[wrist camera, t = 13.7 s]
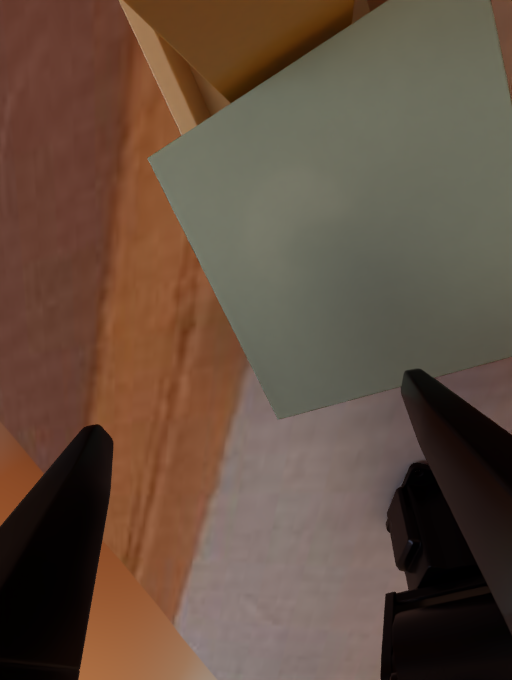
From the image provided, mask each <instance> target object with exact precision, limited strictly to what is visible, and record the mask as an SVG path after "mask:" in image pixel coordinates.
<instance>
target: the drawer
mask: <svg viewBox="0 0 512 680" xmlns="http://www.w3.org/2000/svg"><path fill="white" fill-rule="evenodd" d="M386 1H387V0H354V9H353V19H352V23H354V22H355V21H357V20H359V19H360V18H362V17H363V16H365V15H366V14H368V13H369V12H371V11H372V10H374V9H375V8H377V7H378V6H380V5H381V4H383V3H384V2H386ZM119 2H120V4H121V6H122V8H123V11H124V13H125V15H126V17H127V19H128V21H129V23H130V26H131V28H132V30H133V32H134V34H135V36H136V38H137V41H138V43H139V45H140V47H141V49H142V51H143V54H144V56H145V58H146V60H147V62H148V64H149V66H150V69H151V71H152V73H153V75H154V77H155V79H156V82H157V84H158V86H159V88H160V90H161V92H162V94H163V97H164V99H165V101H166V103H167V105H168V107H169V109H170V112H171V114H172V116H173V118H174V120H175V122H176V125H177V127H178V129H179V131H180V133H181V135H183V134H185V133H187V132H188V131H190V130H191V129H193V128H194V127H196V126H197V125H199V124H200V123H202V122H203V121H205V120H206V119H208V118H209V117H211V116H212V115H214V114H215V113H217V112H219V111H220V110H222V109H223V108H225V107H226V106H228V105H229V104H231V103H230V102H229V101H228V100H227V99H226V98H224V97H223V96H222V95H221V94H220V93H219V92H218V91H217V90H216V89H215V88H214V87H213V86H212V85H211V84H210V83H209V82H208V81H207V80H206V79H205V78H204V77H203V76H201V75H200V74H199V73H198V72H197V71H196V70H195V69H194V68H193V67H192V66H191V65H190V64H189V63H188V62H187V61H186V60H185V59H184V58H183V57H182V56H181V55H180V54H179V53H177V52H176V51H175V50H174V49H173V48H172V47H171V46H170V45H169V44H168V43H167V42H166V41H165V40H164V39H163V38H162V37H161V36H160V35H159V34H158V33H157V32H156V31H154V30H153V29H152V28H151V27H150V26H149V25H148V24H147V23H146V22H145V21H144V20H143V19H142V18H141V17H140V16H139V15H138V14H137V13H136V12H135V11H134V10H133V9H132V8H130V7H129V6H128V5H127V4H126V3H125V2H124V1H123V0H119Z"/></svg>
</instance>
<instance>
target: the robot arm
mask: <svg viewBox="0 0 512 680" xmlns="http://www.w3.org/2000/svg"><path fill="white" fill-rule="evenodd" d="M401 394H402V397H403V400H404V403H405V406H406V409H407V412H408V414H409V417H410V420H411V423H412V426H413V429H414V431H415V434H416V437H417V440H418V442H419V445H420V447H421V450H422V452H423V454H424V456H425V458H426V460H427V462H428V464H429V465H426V464H422V463H413V464H412V465H411V466H410V467H409V469H408V472H407V474H406V476H405V479H404V481H403V484H402V486H401V487H399V488H398V489H397V490H396V492H395V495H394V497H393V499H392V502H391V504H390V507H389V509H388V512H387V517H388V519H387V522H386V528H387V531H388V532H389V533H390V534H391V540H392V546H393V551H394V557H395V563H396V566H397V567H398V569H399V570H401V571H404V572H405V575H406V580H407V585H408V591H404V592H400V593H396V592H391V593H387V594H386V596H385V610H384V625H383V640H382V654H381V680H512V435H511V434H510V433H508V432H507V431H506V430H504V429H503V428H502V427H500V426H499V425H497V424H496V423H495V422H493V421H492V420H491V419H489V418H488V417H487V416H485V415H484V414H482V413H481V412H480V411H478V410H477V409H476V408H474V407H473V406H471V405H470V404H469V403H467V402H466V401H465V400H463V399H462V398H461V397H459V396H458V395H456V394H455V393H454V392H452V391H451V390H450V389H448V388H447V387H445V386H444V385H443V384H441V383H440V382H439V381H437V380H436V379H434V378H433V377H432V376H430V375H429V374H428V373H426V372H425V371H424V370H422V369H419V368H416V369H410V370H406V371H405V372H404V374H403V380H402V385H401ZM112 460H113V440H112V438H111V437H110V435H109V434H108V433H107V432H106V431H105V430H104V429H103V428H102V427H101V426H100V425H98V424H96V425H90V426H86V427H84V428H83V429H82V430H81V431H80V432H79V433H78V434H77V436H76V437H75V438H74V439H73V440H72V442H71V443H70V444H69V445H68V446H67V448H66V449H65V450H64V451H63V452H62V454H61V455H60V456H59V457H58V458H57V459H56V461H55V462H54V463H53V464H52V465H51V467H50V468H49V469H48V470H47V471H46V473H45V474H44V475H43V476H42V477H41V479H40V480H39V481H38V482H37V483H36V484H35V486H34V487H33V488H32V489H31V490H30V492H29V493H28V494H27V495H26V497H25V498H24V499H23V500H22V501H21V502H20V503H19V505H18V506H17V507H16V508H15V509H14V511H13V512H12V513H11V514H10V515H9V517H8V518H7V519H6V520H5V521H4V523H3V524H2V525H1V526H0V680H78V678H79V672H80V671H79V669H80V665H81V660H82V654H83V648H84V642H85V636H86V630H87V625H88V619H89V613H90V608H91V602H92V596H93V590H94V584H95V579H96V573H97V567H98V562H99V556H100V550H101V544H102V539H103V533H104V527H105V521H106V516H107V510H108V504H109V498H110V489H111V475H112ZM416 470H420V471H419V472H416Z"/></svg>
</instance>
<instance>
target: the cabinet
mask: <svg viewBox="0 0 512 680" xmlns="http://www.w3.org/2000/svg"><path fill="white" fill-rule="evenodd" d="M148 160H149V162H150V164H151V166H152V168H153V170H154V172H155V174H156V176H157V178H158V180H159V182H160V184H161V186H162V188H163V190H164V192H165V194H166V196H167V198H168V200H169V202H170V204H171V206H172V208H173V210H174V212H175V214H176V216H177V218H178V220H179V222H180V224H181V226H182V228H183V230H184V232H185V234H186V236H187V238H188V240H189V242H190V244H191V246H192V248H193V250H194V252H195V254H196V256H197V258H198V260H199V262H200V264H201V266H202V268H203V270H204V272H205V274H206V276H207V278H208V280H209V282H210V284H211V286H212V288H213V290H214V292H215V294H216V296H217V298H218V300H219V302H220V304H221V306H222V308H223V310H224V312H225V314H226V316H227V318H228V320H229V322H230V324H231V326H232V328H233V330H234V332H235V334H236V336H237V338H238V340H239V342H240V344H241V346H242V348H243V350H244V352H245V354H246V356H247V358H248V360H249V362H250V364H251V366H252V368H253V370H254V372H255V374H256V376H257V378H258V380H259V382H260V384H261V386H262V388H263V391H264V393H265V395H266V397H267V399H268V401H269V403H270V405H271V407H272V409H273V411H274V413H275V415H276V417H277V419H283V418H286V417H290V416H294V415H297V414H301V413H305V412H309V411H312V410H316V409H320V408H323V407H327V406H331V405H335V404H338V403H342V402H346V401H349V400H353V399H357V398H360V397H364V396H368V395H372V394H375V393H379V392H383V391H386V390H390V389H394V388H398V387H401V385H402V380H403V374H404V372H405V371H406V370H410V369H416V368H419V369H422V370H424V371H425V372H426V373H428V374H429V375H430V376H432V377H433V378H435V377H438V376H442V375H446V374H450V373H453V372H457V371H461V370H464V369H468V368H472V367H475V366H479V365H483V364H487V363H490V362H494V361H498V360H501V359H505V358H509V357H512V101H511V96H510V91H509V86H508V81H507V76H506V72H505V67H504V62H503V57H502V52H501V47H500V43H499V38H498V33H497V28H496V23H495V18H494V14H493V9H492V4H491V0H387V1H386V2H384V3H383V4H381V5H380V6H378V7H377V8H375V9H374V10H372V11H371V12H369V13H368V14H366V15H365V16H363V17H362V18H360V19H359V20H357V21H355V22H354V23H352V24H351V25H349V26H348V27H346V28H345V29H343V30H342V31H340V32H339V33H337V34H336V35H334V36H333V37H331V38H330V39H328V40H327V41H325V42H324V43H322V44H320V45H319V46H317V47H316V48H314V49H313V50H311V51H310V52H308V53H307V54H305V55H304V56H302V57H301V58H299V59H298V60H296V61H295V62H293V63H292V64H290V65H289V66H287V67H285V68H284V69H282V70H281V71H279V72H278V73H276V74H275V75H273V76H272V77H270V78H269V79H267V80H266V81H264V82H263V83H261V84H260V85H258V86H257V87H255V88H254V89H252V90H250V91H249V92H247V93H246V94H244V95H243V96H241V97H240V98H238V99H237V100H235V101H234V102H232V103H231V104H229V105H228V106H226V107H225V108H223V109H222V110H220V111H219V112H217V113H215V114H214V115H212V116H211V117H209V118H208V119H206V120H205V121H203V122H202V123H200V124H199V125H197V126H196V127H194V128H193V129H191V130H190V131H188V132H187V133H185V134H183V135H182V136H180V137H179V138H177V139H176V140H174V141H173V142H171V143H170V144H168V145H167V146H165V147H164V148H162V149H161V150H159V151H158V152H156V153H155V154H153V155H152V156H150V157H149V158H148Z"/></svg>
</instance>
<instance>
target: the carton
mask: <svg viewBox="0 0 512 680" xmlns="http://www.w3.org/2000/svg"><path fill="white" fill-rule="evenodd" d="M123 1H124V2H125V3H126V4H127V5H128V6H129V7H130V8H132V9H133V10H134V11H135V12H136V13H137V14H138V15H139V16H140V17H141V18H142V19H143V20H144V21H145V22H146V23H147V24H148V25H149V26H150V27H151V28H152V29H153V30H154V31H156V32H157V33H158V34H159V35H160V36H161V37H162V38H163V39H164V40H165V41H166V42H167V43H168V44H169V45H170V46H171V47H172V48H173V49H174V50H175V51H176V52H177V53H179V54H180V55H181V56H182V57H183V58H184V59H185V60H186V61H187V62H188V63H189V64H190V65H191V66H192V67H193V68H194V69H195V70H196V71H197V72H198V73H199V74H200V75H201V76H203V77H204V78H205V79H206V80H207V81H208V82H209V83H210V84H211V85H212V86H213V87H214V88H215V89H216V90H217V91H218V92H219V93H220V94H221V95H222V96H223V97H224V98H226V99H227V100H228V101H229V102H230V103H232V102H234V101H235V100H237V99H238V98H240V97H241V96H243V95H244V94H246V93H247V92H249V91H250V90H252V89H254V88H255V87H257V86H258V85H260V84H261V83H263V82H264V81H266V80H267V79H269V78H270V77H272V76H273V75H275V74H276V73H278V72H279V71H281V70H282V69H284V68H285V67H287V66H289V65H290V64H292V63H293V62H295V61H296V60H298V59H299V58H301V57H302V56H304V55H305V54H307V53H308V52H310V51H311V50H313V49H314V48H316V47H317V46H319V45H320V44H322V43H324V42H325V41H327V40H328V39H330V38H331V37H333V36H334V35H336V34H337V33H339V32H340V31H342V30H343V29H345V28H346V27H348V26H349V25H351V24H352V19H353V9H354V0H123Z"/></svg>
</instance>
